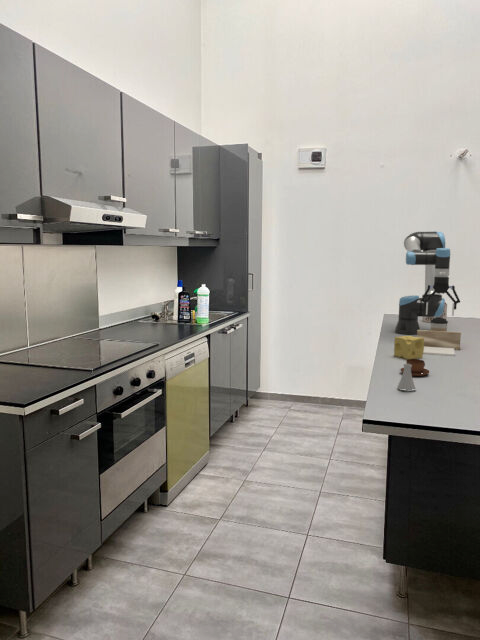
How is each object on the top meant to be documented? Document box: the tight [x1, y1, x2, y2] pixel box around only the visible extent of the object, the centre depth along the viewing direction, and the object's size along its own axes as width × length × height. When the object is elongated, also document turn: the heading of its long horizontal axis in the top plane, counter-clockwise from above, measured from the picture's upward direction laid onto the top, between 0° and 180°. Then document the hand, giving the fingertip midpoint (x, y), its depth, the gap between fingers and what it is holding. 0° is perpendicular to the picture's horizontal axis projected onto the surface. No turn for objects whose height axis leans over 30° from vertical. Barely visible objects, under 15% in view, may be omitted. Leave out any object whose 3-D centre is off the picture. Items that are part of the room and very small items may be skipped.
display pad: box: [423, 346, 456, 357], centre depth 276 cm, size 16×16×1 cm
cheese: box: [393, 335, 424, 360], centre depth 263 cm, size 10×11×10 cm
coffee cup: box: [430, 317, 449, 332], centre depth 293 cm, size 9×9×15 cm
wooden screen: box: [416, 329, 462, 351], centre depth 285 cm, size 6×22×9 cm, turn 70°
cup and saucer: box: [400, 358, 430, 377], centre depth 229 cm, size 12×12×6 cm
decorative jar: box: [422, 302, 448, 324], centre depth 373 cm, size 12×12×18 cm
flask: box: [397, 363, 416, 390], centre depth 205 cm, size 7×7×10 cm
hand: (439, 314), depth 291 cm, fingers open, 13 cm apart
